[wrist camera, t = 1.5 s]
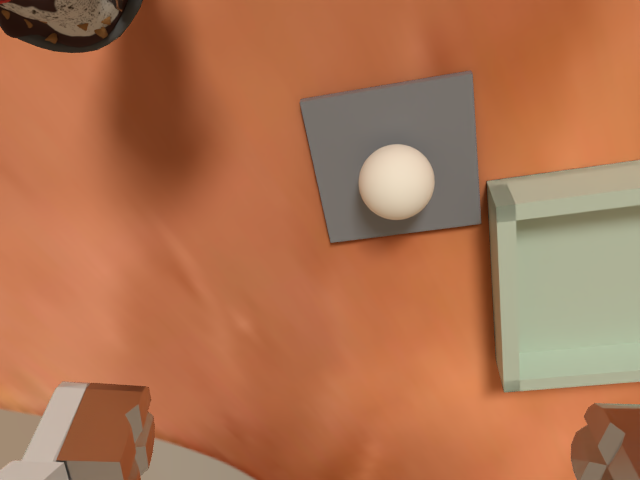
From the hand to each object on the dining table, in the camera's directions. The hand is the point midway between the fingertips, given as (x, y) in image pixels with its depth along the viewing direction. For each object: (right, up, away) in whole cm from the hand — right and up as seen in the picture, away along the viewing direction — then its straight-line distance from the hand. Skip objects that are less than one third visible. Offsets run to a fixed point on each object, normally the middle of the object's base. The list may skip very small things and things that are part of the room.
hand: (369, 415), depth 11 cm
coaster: (+3, +8, +22) cm, 24 cm away
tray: (+18, +2, +25) cm, 31 cm away
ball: (+3, +7, +22) cm, 23 cm away
